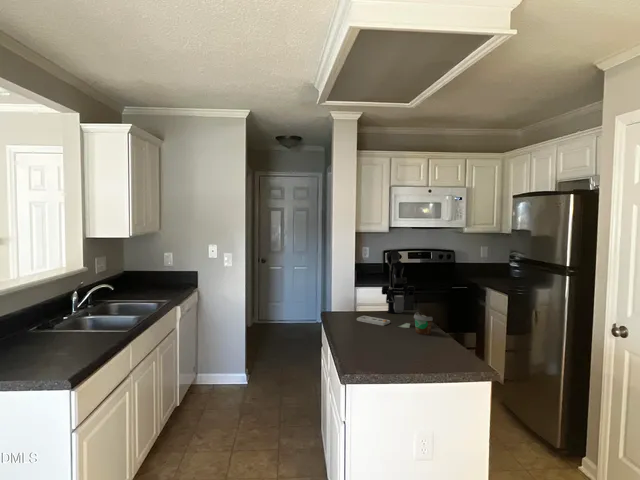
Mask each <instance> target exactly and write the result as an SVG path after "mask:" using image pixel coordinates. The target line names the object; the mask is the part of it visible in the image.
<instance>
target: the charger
mask: <svg viewBox="0 0 640 480" xmlns="http://www.w3.org/2000/svg"><path fill="white" fill-rule="evenodd" d="M394 299H395V303H394V310H395V313H394V314H396V313H397V314H399V313H403V311H404V307H405V302H404V297H403V295H401V294H400V295H394Z"/></svg>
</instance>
